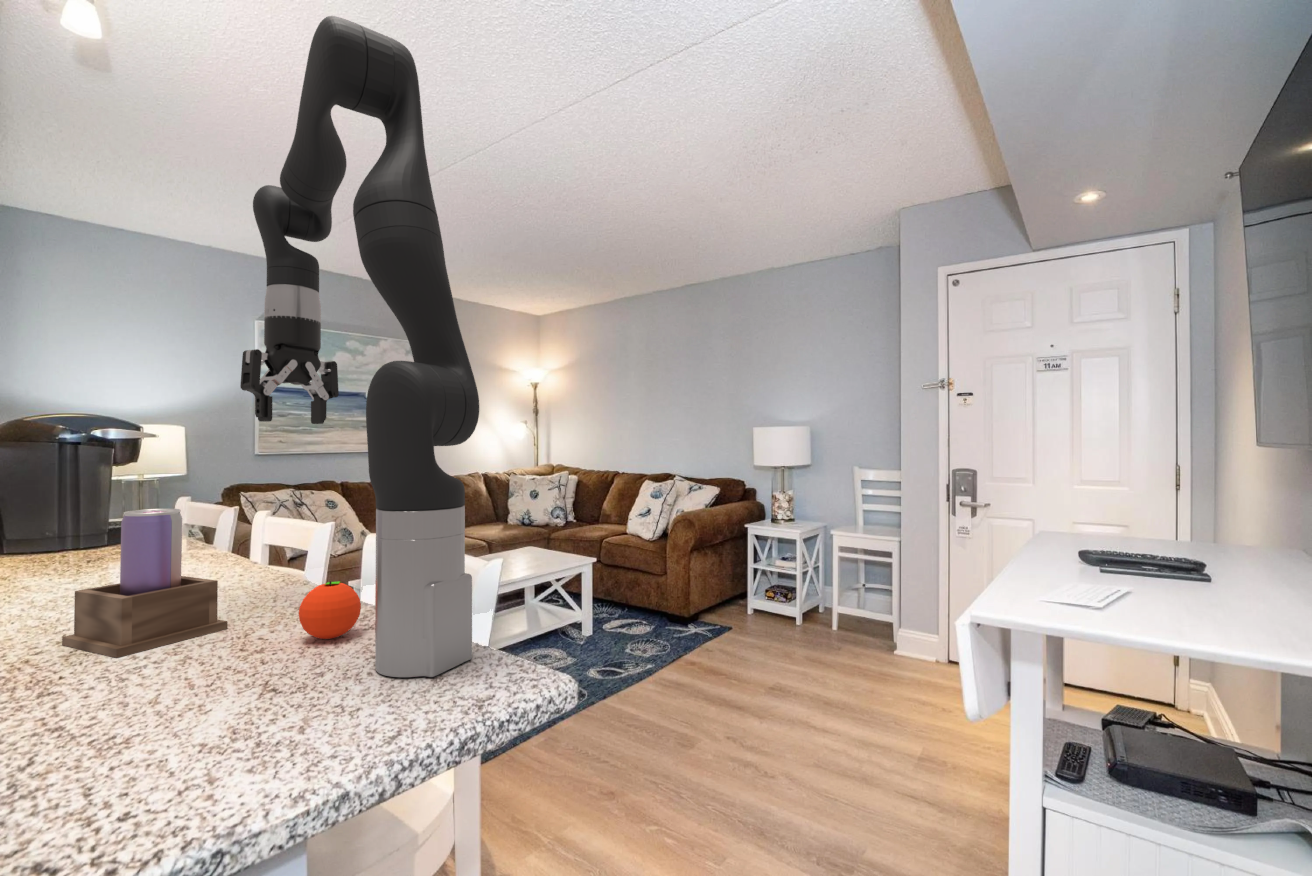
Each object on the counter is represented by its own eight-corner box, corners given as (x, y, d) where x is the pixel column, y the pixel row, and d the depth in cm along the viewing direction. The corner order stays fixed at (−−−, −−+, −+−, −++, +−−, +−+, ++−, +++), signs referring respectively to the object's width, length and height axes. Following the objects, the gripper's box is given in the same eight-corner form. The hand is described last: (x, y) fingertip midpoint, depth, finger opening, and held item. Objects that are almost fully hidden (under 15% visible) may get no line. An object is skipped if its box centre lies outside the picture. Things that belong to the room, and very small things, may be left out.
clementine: (311, 629, 78) (312, 575, 78) (368, 625, 80) (368, 572, 80) (289, 649, 71) (290, 589, 71) (353, 644, 72) (353, 585, 72)
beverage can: (145, 636, 72) (147, 514, 72) (106, 633, 73) (108, 512, 74) (192, 622, 78) (194, 509, 78) (155, 619, 79) (157, 507, 79)
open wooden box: (227, 628, 79) (227, 579, 79) (116, 657, 68) (117, 601, 68) (173, 619, 84) (174, 573, 84) (62, 645, 73) (62, 591, 73)
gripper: (263, 306, 84) (262, 420, 84) (349, 325, 97) (349, 424, 97) (229, 311, 87) (228, 421, 87) (318, 329, 100) (317, 425, 100)
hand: (292, 422), depth 92 cm, fingers open, 8 cm apart
